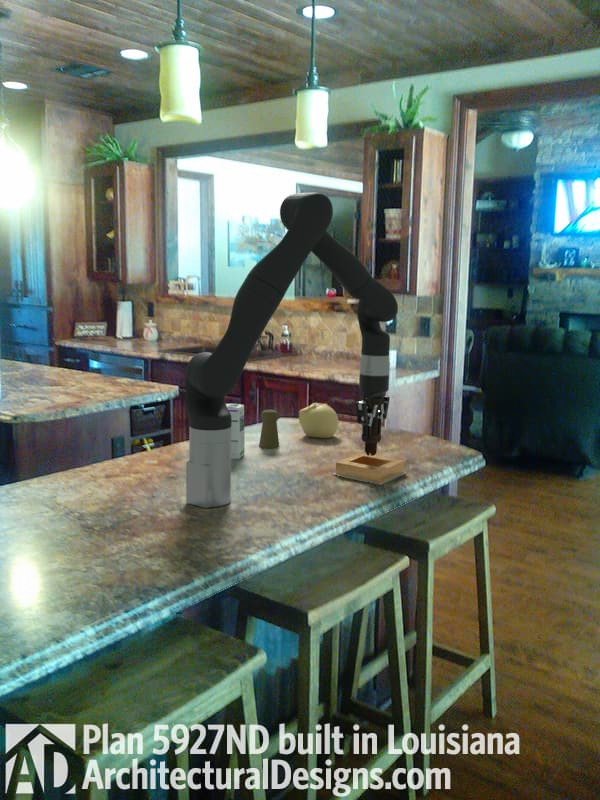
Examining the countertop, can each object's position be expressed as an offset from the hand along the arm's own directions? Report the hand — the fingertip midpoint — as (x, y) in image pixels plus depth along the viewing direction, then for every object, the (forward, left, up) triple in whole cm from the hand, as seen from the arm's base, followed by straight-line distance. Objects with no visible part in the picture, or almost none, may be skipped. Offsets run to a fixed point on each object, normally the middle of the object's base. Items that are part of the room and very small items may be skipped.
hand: (371, 437), depth 186 cm
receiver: (0, 0, -10) cm, 10 cm away
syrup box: (-9, +39, -10) cm, 41 cm away
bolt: (0, 0, -5) cm, 5 cm away
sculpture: (+28, +34, -10) cm, 45 cm away
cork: (+7, +38, -10) cm, 40 cm away
